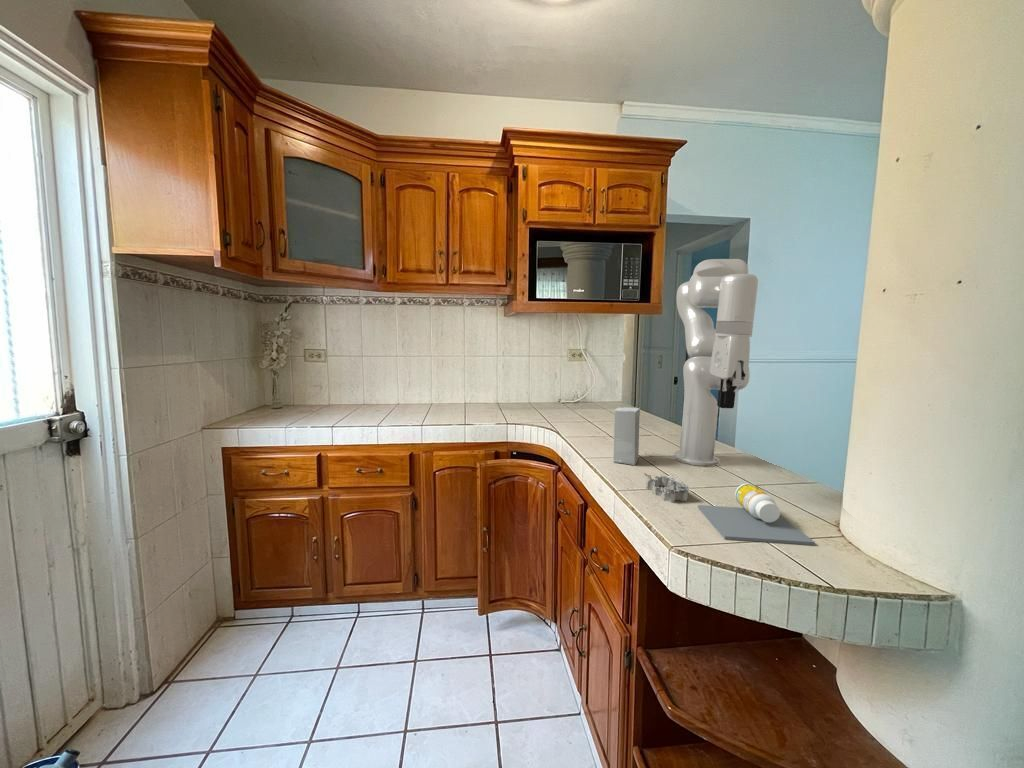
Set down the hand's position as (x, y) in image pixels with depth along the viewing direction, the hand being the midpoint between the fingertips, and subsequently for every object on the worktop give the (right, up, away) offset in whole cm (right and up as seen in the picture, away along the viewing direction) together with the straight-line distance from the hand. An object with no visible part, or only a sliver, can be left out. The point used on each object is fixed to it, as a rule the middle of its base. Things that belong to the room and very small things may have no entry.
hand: (725, 407), depth 98 cm
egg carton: (-14, -21, +1) cm, 25 cm away
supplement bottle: (+1, -19, -7) cm, 20 cm away
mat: (-2, -23, -14) cm, 27 cm away
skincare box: (-17, -18, +26) cm, 35 cm away
